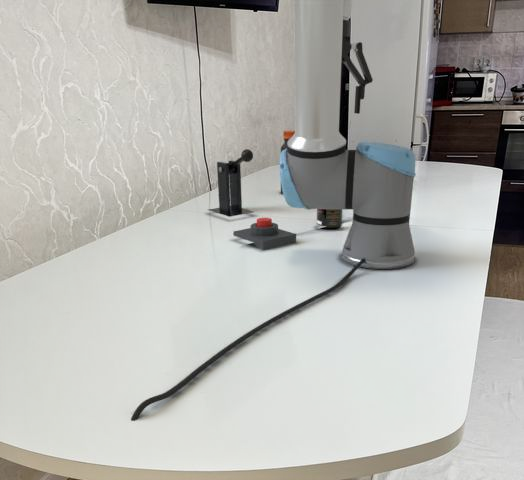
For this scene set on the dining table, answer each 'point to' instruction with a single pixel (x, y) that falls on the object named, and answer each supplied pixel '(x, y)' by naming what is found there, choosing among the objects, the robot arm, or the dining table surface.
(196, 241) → the dining table surface
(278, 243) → the dark grey base plate
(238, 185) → the lever switch
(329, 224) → the supplement container
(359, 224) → the robot arm
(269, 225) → the button
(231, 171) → the switch lever
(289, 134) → the bottle
